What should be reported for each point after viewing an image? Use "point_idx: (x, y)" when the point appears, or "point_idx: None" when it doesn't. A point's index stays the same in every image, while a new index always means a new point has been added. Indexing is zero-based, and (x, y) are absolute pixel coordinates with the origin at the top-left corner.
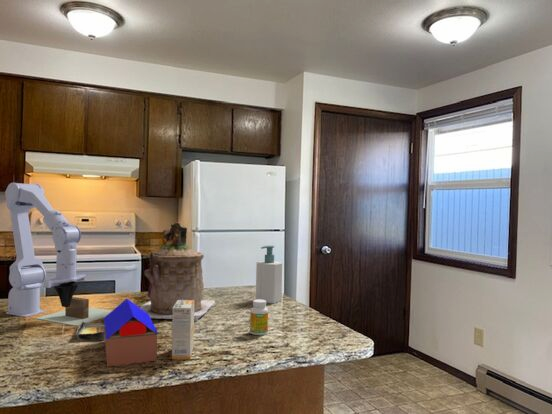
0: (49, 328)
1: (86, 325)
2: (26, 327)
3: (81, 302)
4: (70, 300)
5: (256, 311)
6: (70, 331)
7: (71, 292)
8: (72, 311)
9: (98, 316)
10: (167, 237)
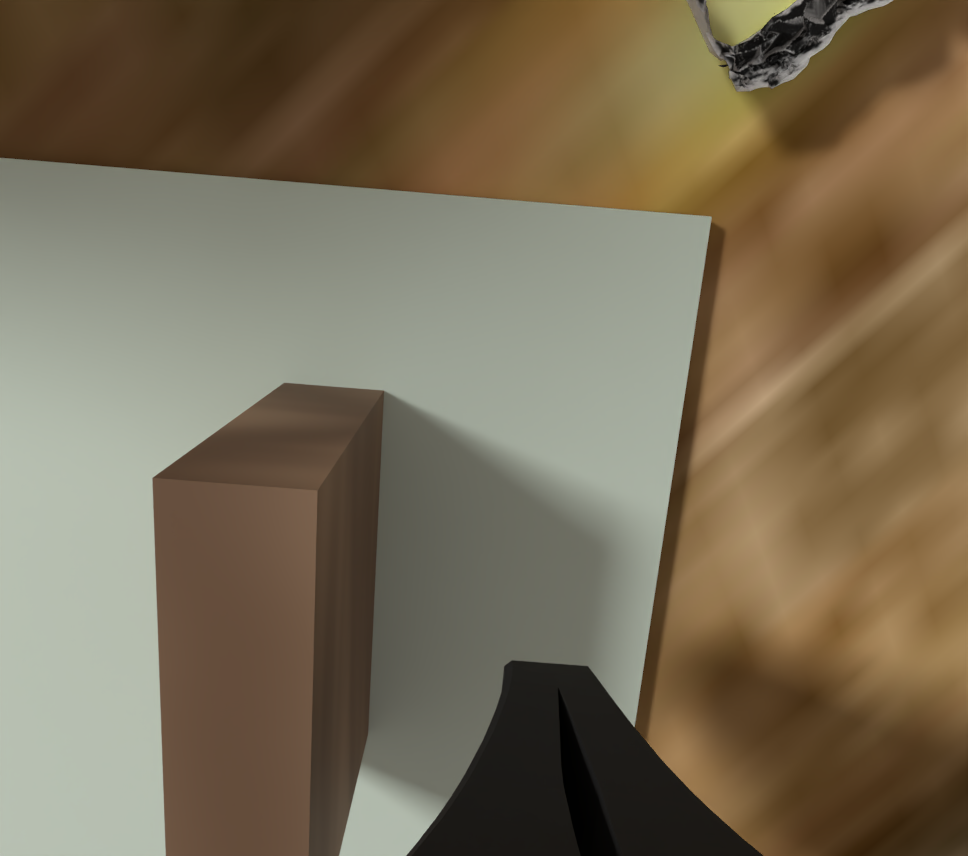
0: (872, 527)
1: (704, 33)
2: (908, 798)
3: (328, 541)
4: (524, 715)
5: None
6: (925, 142)
7: (554, 850)
8: (360, 655)
9: (157, 279)
10: None
